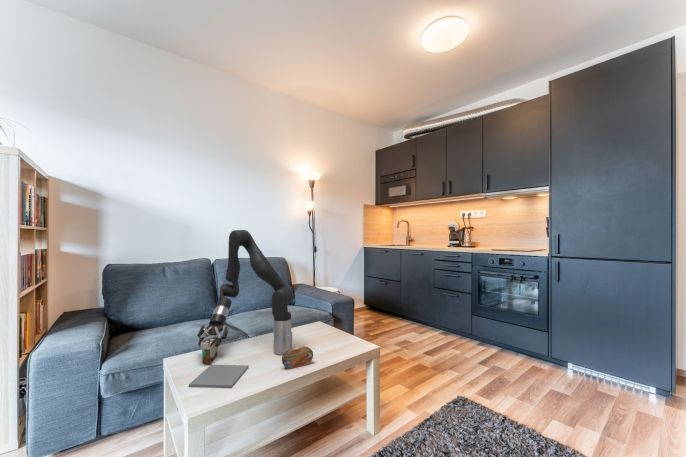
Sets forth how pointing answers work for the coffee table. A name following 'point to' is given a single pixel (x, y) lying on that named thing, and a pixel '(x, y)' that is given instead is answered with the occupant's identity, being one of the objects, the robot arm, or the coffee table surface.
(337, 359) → the coffee table surface
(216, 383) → the slate board
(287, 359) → the tin
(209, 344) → the food container
